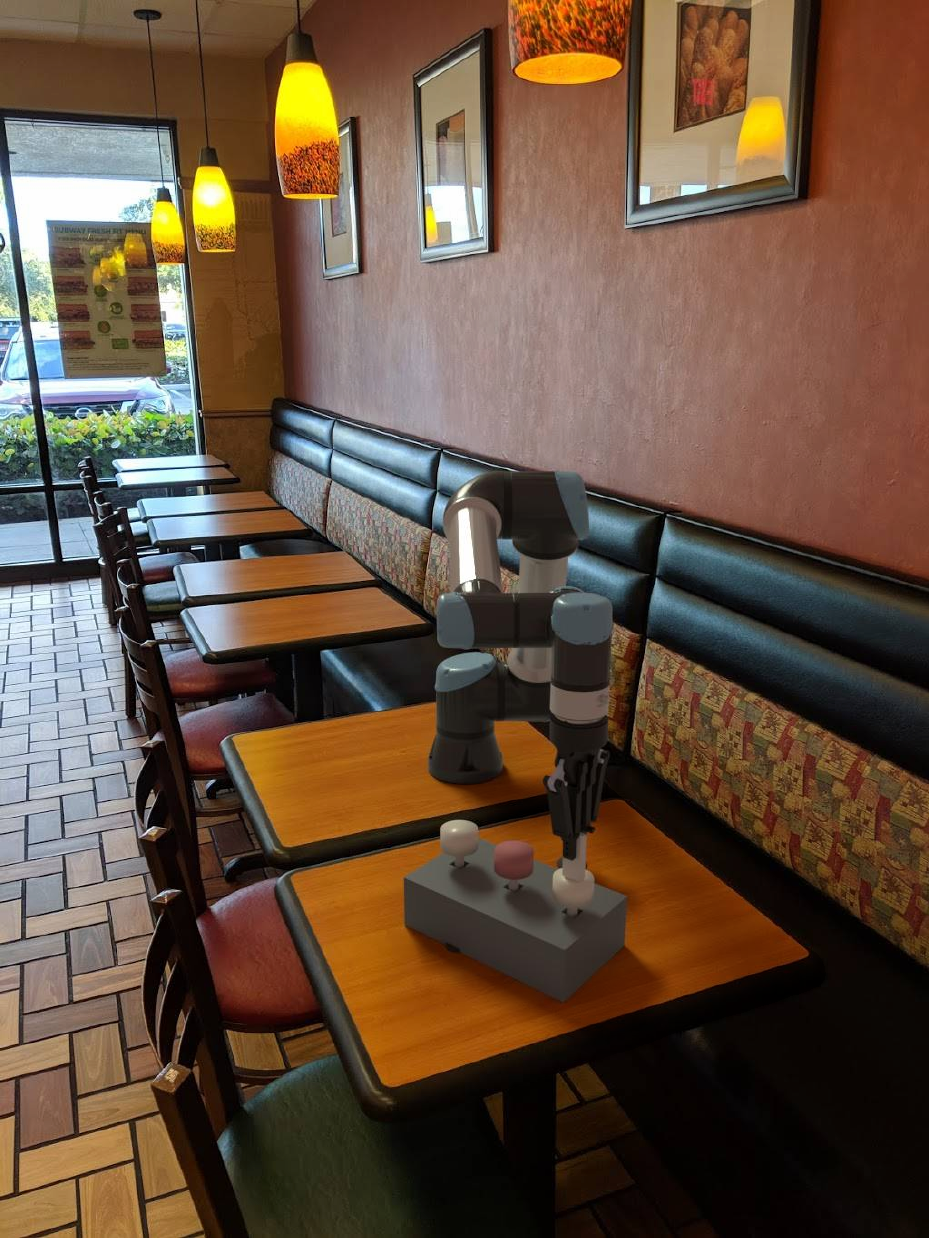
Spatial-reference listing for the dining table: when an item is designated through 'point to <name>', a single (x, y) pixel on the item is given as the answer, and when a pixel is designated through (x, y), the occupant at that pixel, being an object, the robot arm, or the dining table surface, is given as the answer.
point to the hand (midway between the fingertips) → (573, 876)
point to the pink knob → (513, 861)
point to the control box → (514, 921)
